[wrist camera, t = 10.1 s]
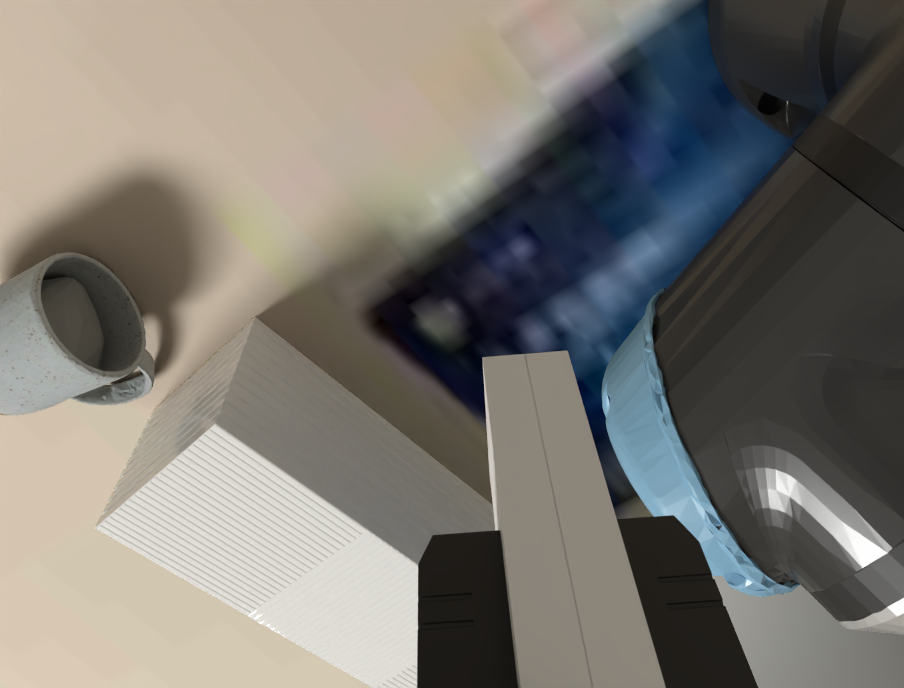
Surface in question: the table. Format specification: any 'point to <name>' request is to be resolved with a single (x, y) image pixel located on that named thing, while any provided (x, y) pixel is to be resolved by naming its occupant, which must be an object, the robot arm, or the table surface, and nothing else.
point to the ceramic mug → (69, 337)
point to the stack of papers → (292, 505)
